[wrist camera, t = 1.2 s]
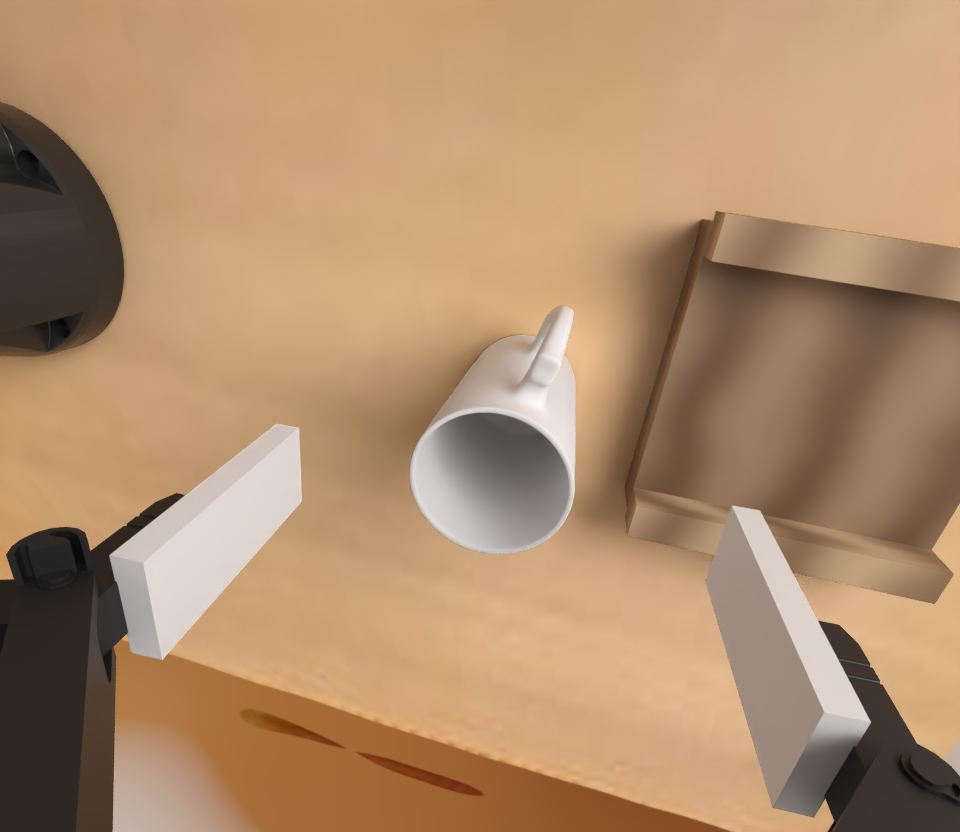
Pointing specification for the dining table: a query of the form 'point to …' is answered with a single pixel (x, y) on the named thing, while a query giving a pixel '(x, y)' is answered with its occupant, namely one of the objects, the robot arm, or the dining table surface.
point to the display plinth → (809, 402)
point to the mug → (503, 446)
